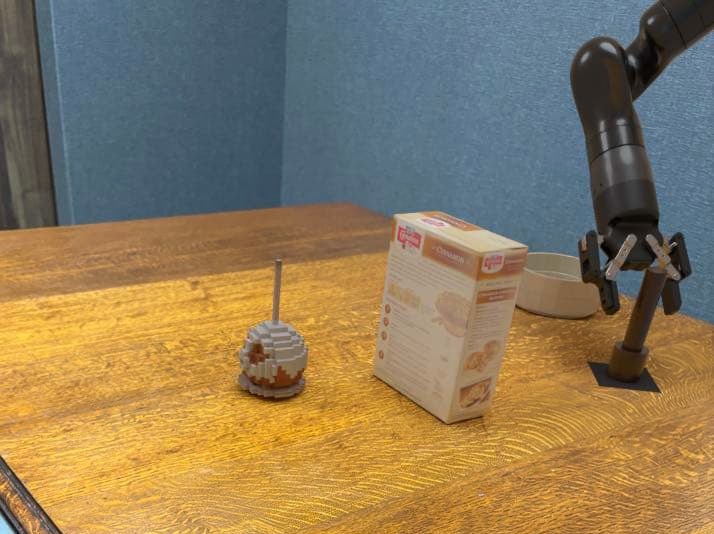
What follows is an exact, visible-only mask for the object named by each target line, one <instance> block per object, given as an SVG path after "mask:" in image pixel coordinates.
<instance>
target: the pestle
mask: <svg viewBox="0 0 714 534" xmlns="http://www.w3.org/2000/svg"><path fill="white" fill-rule="evenodd" d="M667 275H668V271H667V270H666V269H663V268H660V267H652V266H651V267H647V268H646V271H645V272H644V274H643V278H642V280H641V284H640V287H639V290H638V293H637V296H636V299H635V302H634V305H633V309H632V311H631V315H630V318H629V321H628V324H627V328H626V329H625V334H624V337H623V340H617V341H616V342H614V344H613V347H612V351H611V354H610V357H609V360H608V362H607V363H608V366H607V369H606V375H607V376H608V377H610V378H611V379H613V380H616V381H619V382H624V383H636V382H638V381H639V380H640V378H641V375H642V372H643V369H644V367H645V365H646V363H647V360H648V357H649V354H650V348H649V347H647V346H646V345H645V344H646V340H647V338H648V334H649V332H650V328H651V325H652V322H653V320H654V317H655V313H656V311H657V307H658V305H659V302H660V299H661V293H662V290H663V287H664V284H665V281H666V278H667Z"/></svg>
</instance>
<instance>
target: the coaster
mask: <svg viewBox="0 0 714 534" xmlns="http://www.w3.org/2000/svg"><path fill="white" fill-rule="evenodd" d="M608 363H609V362H607V363H606V362H600V361H599V362H598V361H590V360H587V364H588V366H589V368H590V371H591V372H592V374H593V376H594V379H595V380H596V383H597V385H598V386H599V387H601V388H602V387H603V388H610V389H611V388H612V389H622V390H630V391H638V392H649V393H656V394H657V393H658V394H662V391H661V389H660V388H659V385H658V384H657V382H656V381H655V379H654V378H653V377H652V375H651V373H650V372H649V370H648V368H647V367H645V366H644V369H643V372H642V375H641V378H640V380H639V381H638V382H636V383H624V382H619V381H616V380H613V379H611V378H610V377H608V376H607V375H606V369H607V366H608Z"/></svg>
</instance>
